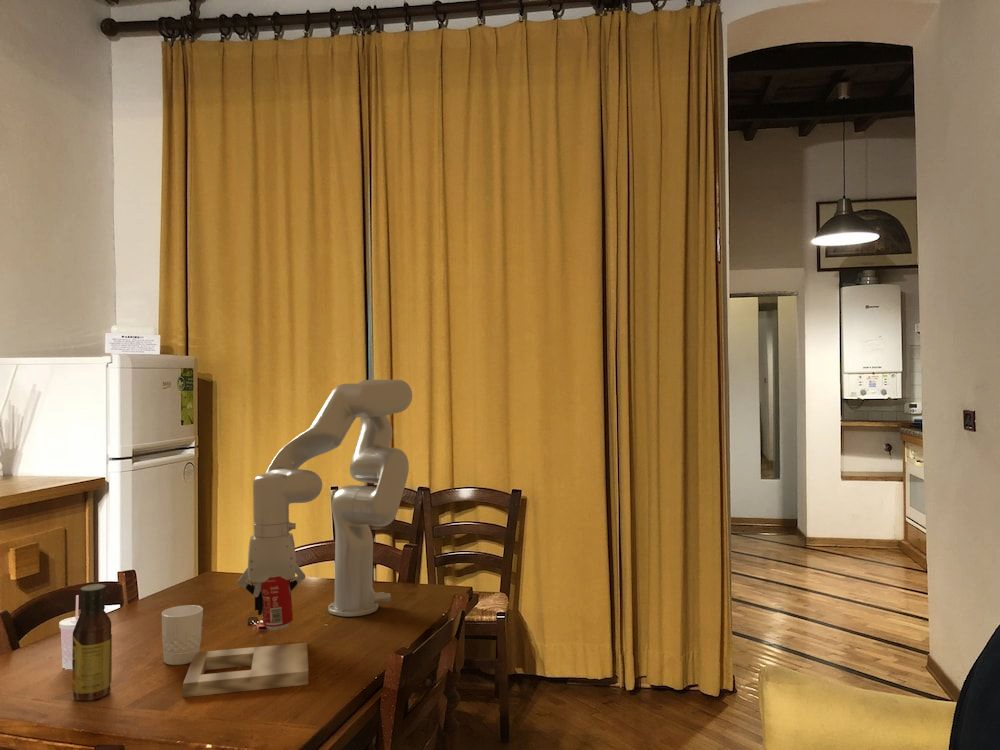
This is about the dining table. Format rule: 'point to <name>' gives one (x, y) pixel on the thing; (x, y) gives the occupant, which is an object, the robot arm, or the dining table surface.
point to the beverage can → (276, 603)
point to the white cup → (181, 633)
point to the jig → (267, 670)
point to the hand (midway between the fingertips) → (272, 610)
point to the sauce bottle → (92, 646)
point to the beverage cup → (68, 637)
